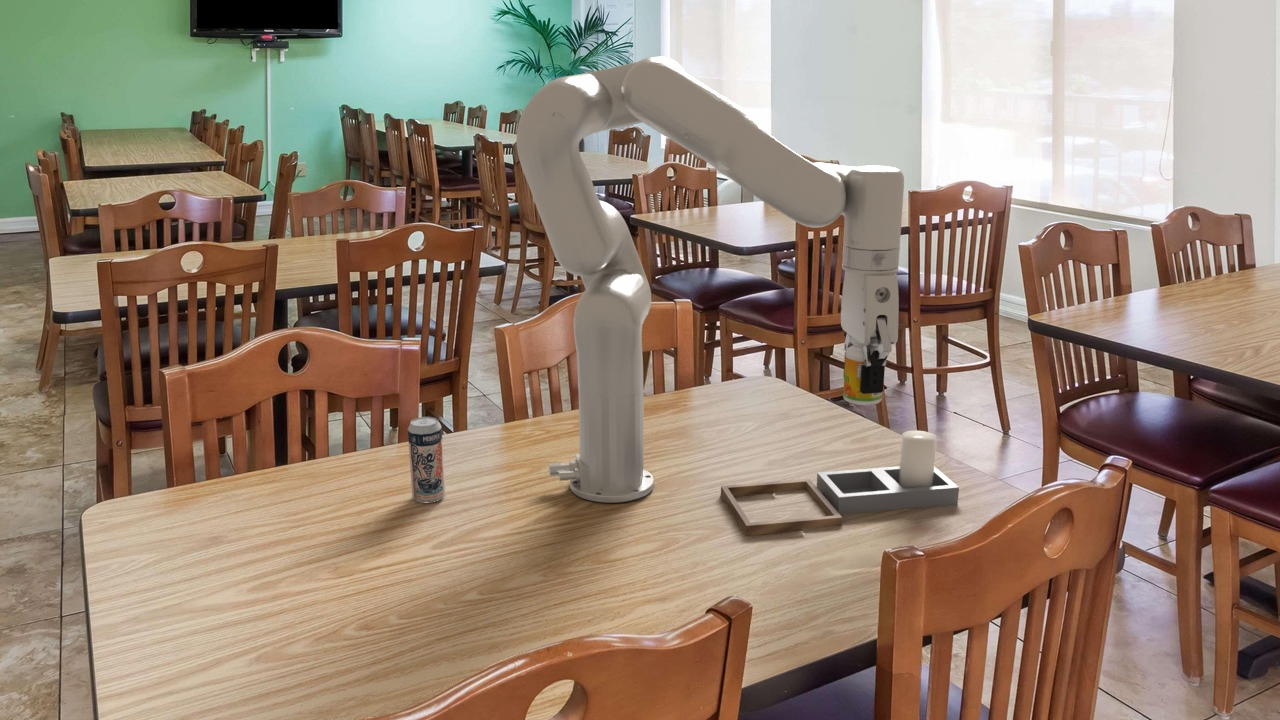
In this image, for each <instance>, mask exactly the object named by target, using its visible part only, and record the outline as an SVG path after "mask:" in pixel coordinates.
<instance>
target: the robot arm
mask: <svg viewBox="0 0 1280 720" xmlns="http://www.w3.org/2000/svg"><path fill="white" fill-rule="evenodd" d="M642 123H643V124H645V125H646V126H648V127H650V128H651V129H653V130H655V131H656V132H658V133H659V134H661V135H662V136H665V137H666V138H668V139H670V140H671V141H672V142H674V143H676V144H677V145H679V146H681V147H682V148H684V149H685V150H687V151H688V152H689V153H692V154H693V155H695V156H696V157H698V158H699V159H701V160H702V161H704V162H706V163H708V164H709V165H711V166H712V167H713V168H714V169H716V170H717V171H718V172H719V173H721V174H722V175H723V176H725V177H727V178H729V179H730V180H732V181H733V182H735V183H736V184H737V185H738V186H740V187H741V188H742V189H744V190H745V191H747V192H749V193H750V194H751V195H753V196H754V197H756V198H757V199H759V200H760V201H762V202H763V203H765V204H766V205H768V206H769V207H771V208H773V209H775V210H776V211H778V212H779V213H781V214H783V215H784V216H786V217H787V218H789V219H791V220H792V221H794V222H796V223H798V224H799V225H802V226H804V227H806V228H807V227H808V228H816V229H817V228H823V227H828V226H829V225H832V223H834V222H835V221H837V220H838V219H839V218H840V217H841V216H843V217H844V225H843V241H842V244H843V245H842V260H841V261H842V262H841V269H842V270H843V271H844V277H843V283H842V284H843V285H842V294H841V304H840V305H841V306H840V326H841V328H842V330H843V331H844V333H843V335H844V336H843V337H844V338H845V341H844V345H843V347H844V349H843V350H844V355H845V354H846V350H847V349H848V348H849V347H850V346H853V344H852V343H851V337H853V338H855V339H856V340H857V341H859V342H860V343H862V344H863V352H864V365H861V380H860V392H861V393H863V394H868V393H881V392H882V393H883V391H884V384H885V369H886V365H887V359H888V357H889V355H890V353H891V352H892V349H893V348H892V345H895V344H896V343H897V342H898V338H899V308H900V307H899V304H900V303H899V300H900V299H899V298H900V297H899V296H900V295H899V281H898V275H897V272H899V263H900V251H901V250H900V248H901V237H902V236H901V234H902V223H903V222H902V218H903V205H904V190H905V177H904V174H903V172H902V171H901V170H900V169H899V168H897V167H893V166H886V165H860V166H848V165H842V164H841V165H839V164H835V163H830V162H829V163H828V162H827V163H826V162H820V161H818V162H816V161H815V162H811V161H809V160H808V159H806V158H805V157H803V156H801V154H798V153H796V152H795V151H793V150H792V149H791V148H789V147H788V146H787V145H784V144H783V143H782V142H781V141H779V140H778V139H777V138H775V137H774V136H772V134H770V133H769V132H768V131H767V130H765V128H764V127H762V125H761V124H760V123H759V122H758V121H757V119H756V118H755V117H754V116H753V115H752V114H751V113H750V112H748V111H747V110H746V109H745V108H744V107H742V106H740V105H739V104H737V103H735V102H733V101H732V100H730V99H728V98H727V97H725V96H723V95H721V93H719V92H717V91H715V90H714V89H712V88H710V87H709V86H707V85H705V84H704V83H703V82H700V80H698V79H696V78H695V77H693V76H692V75H690V74H688V73H687V72H686V70H685V69H684V68H683V66H682V65H681V64H679V62H678V61H676V60H674V59H672V58H670V57H667V56H660V55H657V56H651V57H650V56H649V57H645V58H643V59H640V60H639V61H635V62H632V63H626V64H622V65H618V66H613V67H608V68H604V69H599V70H595V71H589V72H585V73H580V74H573V75H565V76H562V77H558V78H556V79H554V80H551V81H550V82H548V83H546V84H544V85H543V86H542V87H541V88H540V89H539V90H538V91H537V92H536V93H535V94H534V95H533V96H532V97H531V99H530V100H529V102H528V103H527V104H526V106H525V107H524V109H523V111H522V113H521V115H520V118H519V121H518V125H517V130H516V140H515V141H516V149H517V150H516V151H517V155H518V160H519V163H520V167H521V169H522V171H523V174H524V177H525V179H526V182H527V184H528V188H529V190H530V192H531V195H532V197H533V200H534V204H535V206H536V210H537V212H538V215H539V217H540V220H541V223H542V225H543V228H544V230H545V233H546V236H547V238H548V240H549V244H550V247H551V249H552V252H553V255H554V257H555V259H556V261H557V263H558V264H559V265H560V267H562V269H564V270H565V271H566V272H568V273H569V274H571V275H573V276H579V277H580V278H581V281H582V283H583V286H584V288H585V290H584V291H583V292H582V294H581V296H580V297H579V298H578V301H577V303H576V306H575V309H574V312H573V313H574V314H573V336H574V342H575V344H574V345H575V349H576V362H577V363H576V364H577V390H578V423H579V424H578V425H579V429H578V431H579V433H578V434H579V453H576V454H575V459H571V460H569V462H564V463H563V462H562V463H561V462H554V463H548V474H549V475H548V476H549V477H558V480H559V481H560V482H562V481H569V489H570V491H571V492H572V493H573V494H575V495H576V496H577V497H579V498H581V499H584V500H587V501H591V502H596V503H605V504H606V503H607V504H608V503H611V504H615V503H625V502H630V501H635V500H638V499H641V498H643V497H645V496H647V495H648V494H649V493H651V492H653V490H654V487H655V478H654V475H653V474H652V473H650V472H649V471H648V470H646V469H645V467H644V465H645V464H644V461H645V458H644V455H645V454H644V452H645V451H644V450H645V449H644V445H645V444H644V443H645V441H644V440H645V439H644V438H645V437H644V433H645V432H644V426H645V425H644V424H645V423H644V422H645V421H644V415H645V414H644V407H645V404H644V402H645V401H644V400H645V399H644V398H645V397H644V363H643V362H644V361H643V345H642V344H643V343H642V330H643V324H644V322H645V321H646V320H645V319H646V318H647V316H648V315H649V313H650V310H651V305H652V291H651V287H650V283H649V281H648V278H647V275H646V272H645V269H644V267H643V264H642V262H641V259H640V256H639V252H638V250H637V248H636V246H635V243H634V240H633V238H632V235H631V232H630V229H629V226H628V225H627V222H626V221H625V219H624V218H623V216H622V214H621V213H620V212H619V210H617V208H615V206H613V205H611V204H610V203H608V202H606V201H604V200H600V199H599V197H598V194H597V192H596V190H595V186H594V183H593V181H592V177H591V175H590V173H589V172H590V171H589V170H588V168H587V166H586V164H585V162H584V160H583V158H582V156H581V153H580V142H581V141H582V139H583V138H586V137H588V136H591V135H593V134H596V133H599V132H604V131H609V130H613V129H618V128H619V129H620V128H624V127H629V126H633V125H637V124H642ZM870 339H877V340H878V343H871V341H870ZM874 347H878V348H877V350H875V351H873V353H872V354H870V348H874ZM843 361H844V362H843V365H844V366H843V372H844V371H845V359H844V360H843Z"/></svg>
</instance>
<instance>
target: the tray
mask: <svg viewBox="0 0 1280 720" xmlns="http://www.w3.org/2000/svg"><path fill="white" fill-rule="evenodd" d="M804 489H805V490H806V491H807V492H808V494H810V496H811V497H812V498H813V499H814V500H815V501H816V503H817V504H818V505H819V507H821V509H822V510H823V512H824V513H826V515H825V516H814V517H813V516H812V517H802V518H801V517H800V518H790V519H779V520H778V519H777V520H767V521H755V522H751V521H750V520H749V518H748V516H747V515H746V513H745V512H744V510H743V509H742V507H741V506H740V504H739V503H738V501H737V500H736V498H735V497H744V496H745V497H746V496H759V495H769V494H770V495H771V494H775V492H780V491H781V492H782V491H783V492H784V491H791V490H792V491H793V490H804ZM720 496H721V498H722V500H723V501H724V503H725V504H726V506H727V508H728V509H729V511H730V512H731V514H732V515H733V518H734V519H735V520H736V521H737V523H738V525H739V526H740V528H741V529H742V532H743V533H744V535H745V536H747V537H748V536H749V537H750V536H760V535H761V536H762V535H770V534H771V535H773V534H782V533H783V534H784V533H793V532H803V531H804V530H803V529H812V528H813V529H814V528H824V527H825V528H826V527H834V526H835V527H836V526H837V527H838V526H843V516H842V514H839V513H838V512H837V511H836V509H835V508H834V507H833V506H832V505H831V504H830V502H829V501H828V500H827V499H826V498H825V497H824V495H823V494H822V493H821V492H820V491H819V490H818V488H817V485H815V484H814V483H813V481H812V480H811V479H810V478H806V479H805V478H804V479H793V480H791V479H790V480H781V481H780V480H779V481H769V482H767V481H766V482H756V483H755V482H754V483H753V482H752V483H742V484H731V485H721V486H720Z"/></svg>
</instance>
